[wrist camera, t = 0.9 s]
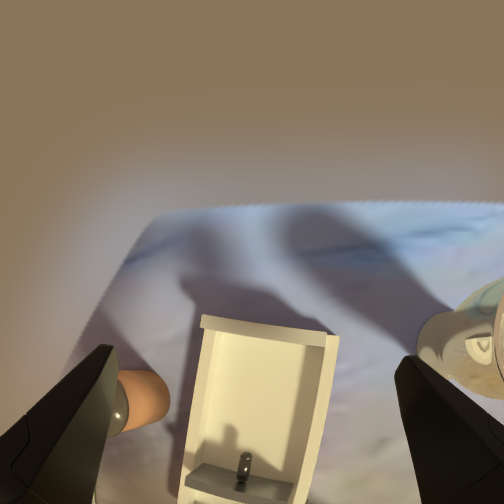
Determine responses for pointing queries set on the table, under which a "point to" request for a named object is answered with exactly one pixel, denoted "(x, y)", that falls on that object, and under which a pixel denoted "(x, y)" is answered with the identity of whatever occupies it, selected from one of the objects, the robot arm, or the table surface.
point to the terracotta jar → (138, 400)
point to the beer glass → (469, 342)
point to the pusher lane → (259, 403)
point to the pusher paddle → (239, 483)
